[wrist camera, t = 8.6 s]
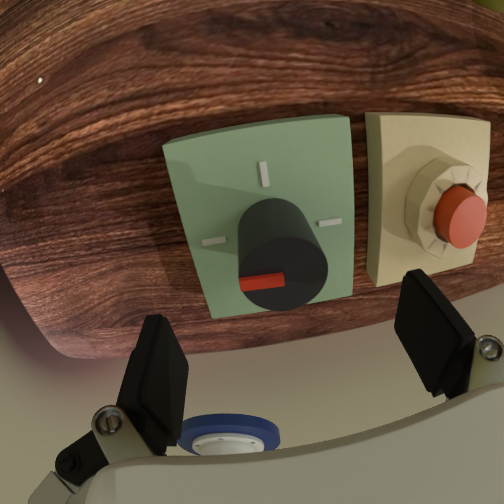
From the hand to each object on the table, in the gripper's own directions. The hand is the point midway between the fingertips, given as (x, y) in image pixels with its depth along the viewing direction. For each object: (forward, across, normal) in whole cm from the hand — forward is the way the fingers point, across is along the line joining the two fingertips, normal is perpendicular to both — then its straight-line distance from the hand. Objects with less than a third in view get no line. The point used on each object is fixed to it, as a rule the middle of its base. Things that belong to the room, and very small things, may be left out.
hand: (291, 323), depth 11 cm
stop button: (+6, -12, -1) cm, 14 cm away
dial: (+7, 0, -1) cm, 7 cm away
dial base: (+10, 0, -1) cm, 10 cm away
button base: (+10, -12, -1) cm, 16 cm away
